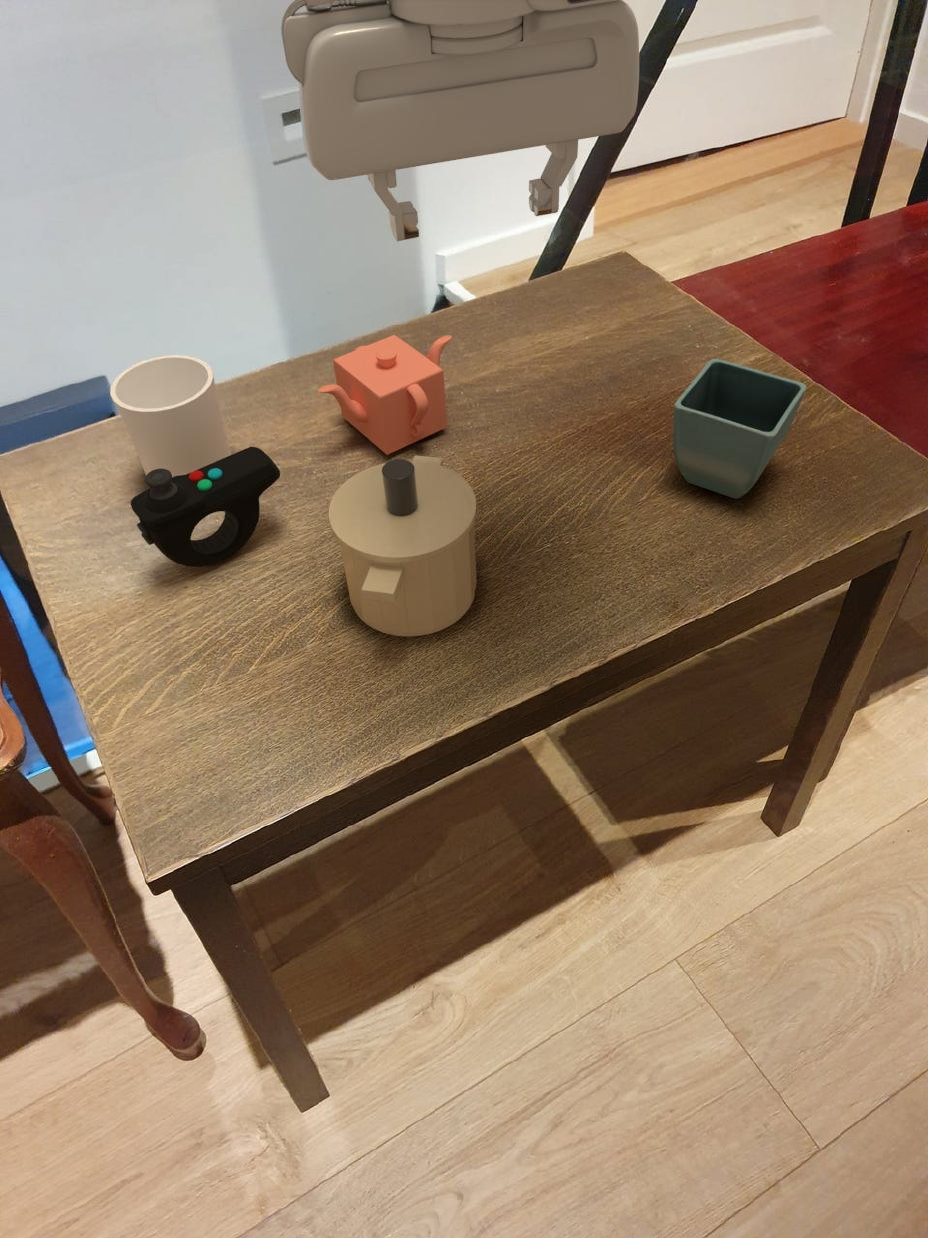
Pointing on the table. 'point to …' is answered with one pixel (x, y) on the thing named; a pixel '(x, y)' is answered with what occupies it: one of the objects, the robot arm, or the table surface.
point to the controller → (205, 507)
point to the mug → (172, 413)
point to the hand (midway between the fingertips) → (475, 223)
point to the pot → (413, 587)
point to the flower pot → (732, 425)
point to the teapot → (391, 391)
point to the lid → (402, 511)
